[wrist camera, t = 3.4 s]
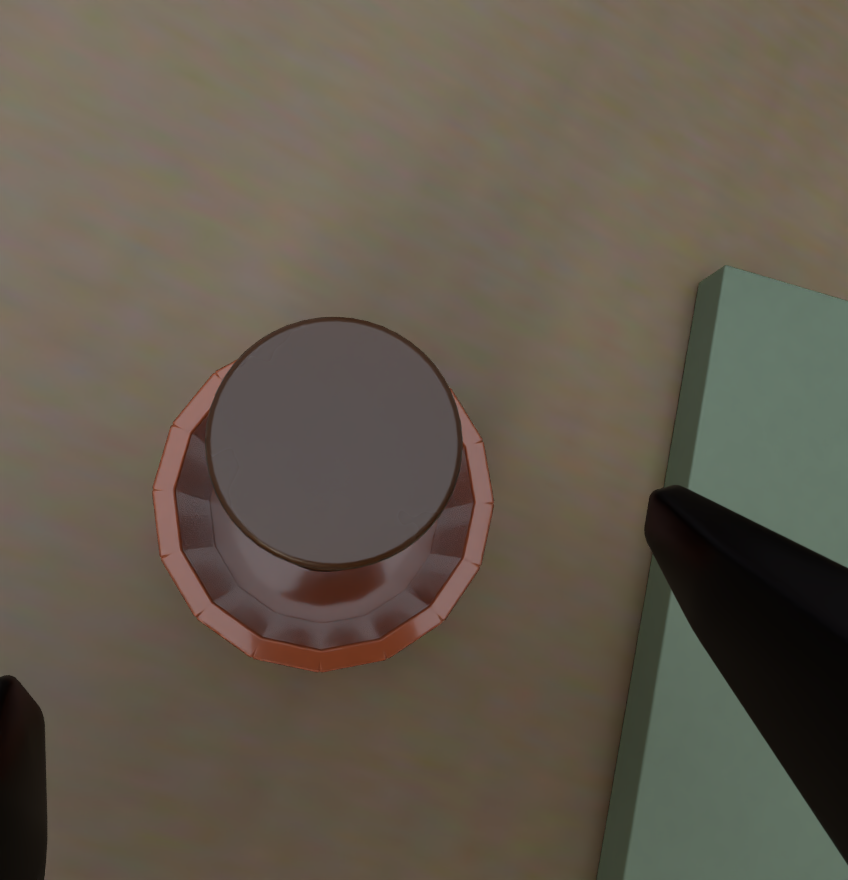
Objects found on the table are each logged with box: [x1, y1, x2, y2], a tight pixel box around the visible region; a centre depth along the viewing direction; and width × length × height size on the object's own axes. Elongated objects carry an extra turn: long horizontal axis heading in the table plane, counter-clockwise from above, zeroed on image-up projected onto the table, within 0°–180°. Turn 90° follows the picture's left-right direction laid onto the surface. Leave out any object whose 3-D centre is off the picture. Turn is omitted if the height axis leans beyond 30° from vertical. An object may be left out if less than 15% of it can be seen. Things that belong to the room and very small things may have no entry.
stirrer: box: [205, 317, 463, 572], centre depth 12 cm, size 3×3×13 cm
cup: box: [152, 360, 494, 672], centre depth 17 cm, size 7×7×5 cm
